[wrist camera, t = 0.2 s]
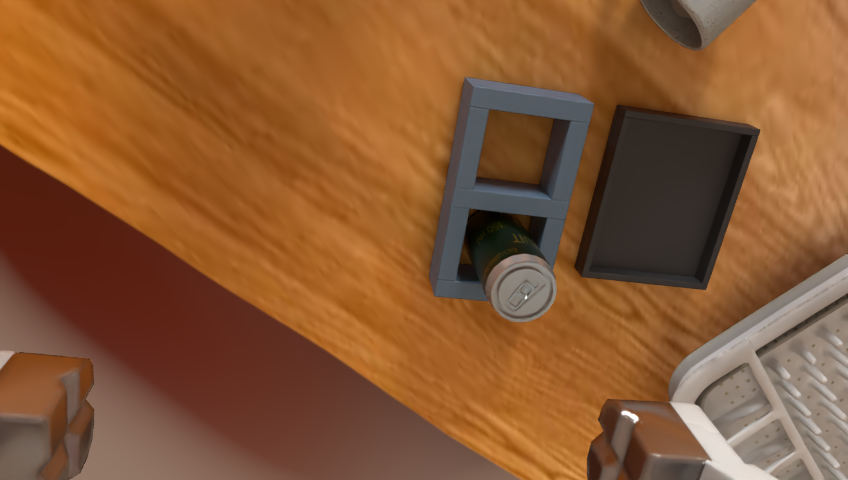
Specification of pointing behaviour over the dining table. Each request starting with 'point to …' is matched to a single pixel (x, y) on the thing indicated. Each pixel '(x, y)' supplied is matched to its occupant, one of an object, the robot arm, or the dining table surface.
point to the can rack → (506, 196)
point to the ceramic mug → (694, 19)
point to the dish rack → (780, 381)
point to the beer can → (509, 266)
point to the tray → (664, 197)
